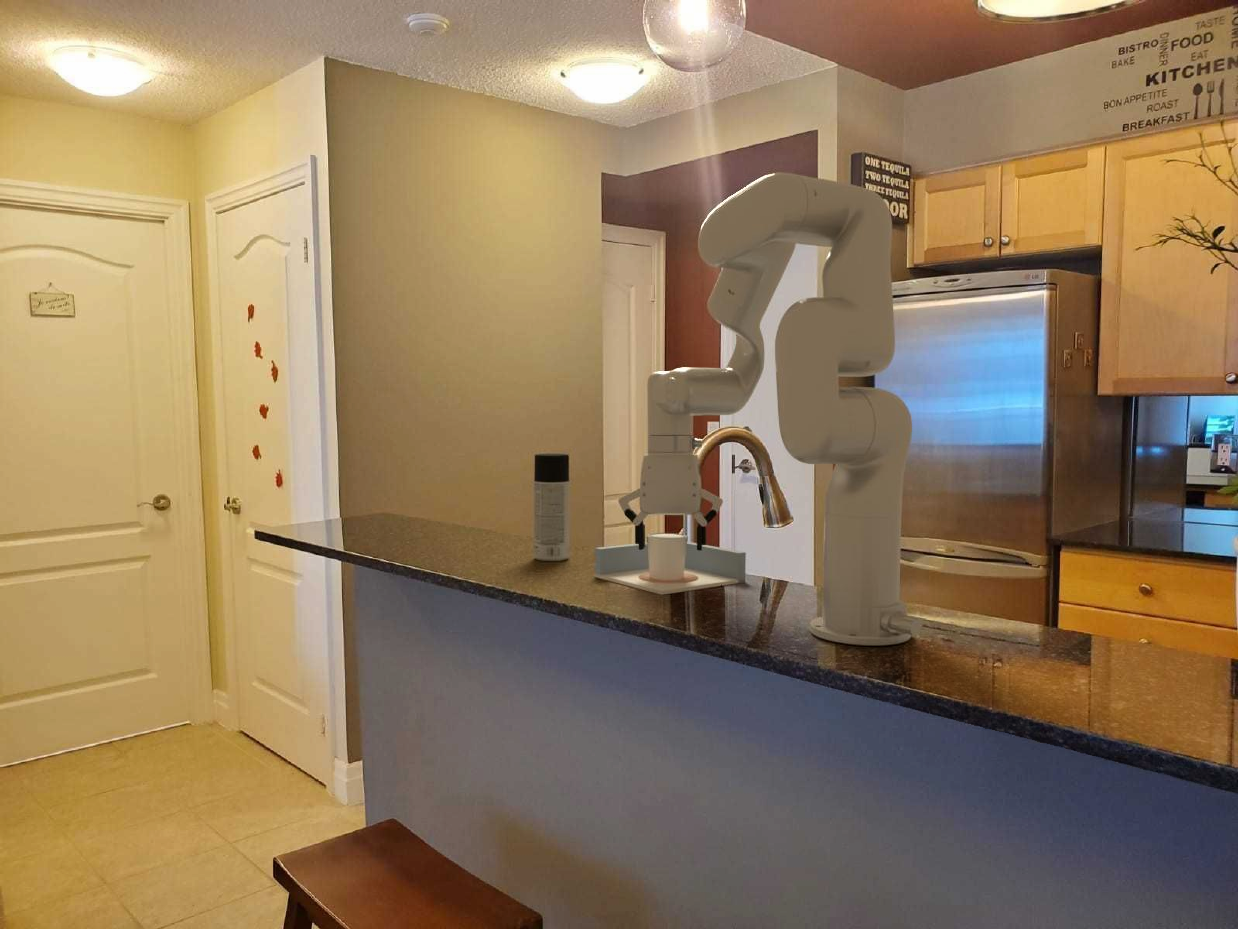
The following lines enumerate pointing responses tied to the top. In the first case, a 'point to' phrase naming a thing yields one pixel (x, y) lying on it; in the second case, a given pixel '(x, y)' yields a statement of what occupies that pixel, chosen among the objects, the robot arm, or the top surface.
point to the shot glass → (666, 555)
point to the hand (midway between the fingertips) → (670, 549)
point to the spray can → (551, 507)
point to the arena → (698, 573)
